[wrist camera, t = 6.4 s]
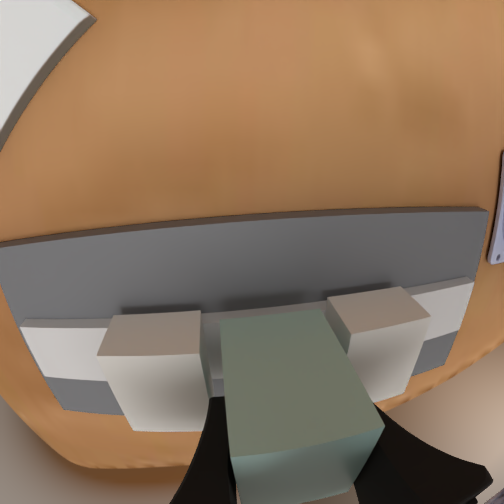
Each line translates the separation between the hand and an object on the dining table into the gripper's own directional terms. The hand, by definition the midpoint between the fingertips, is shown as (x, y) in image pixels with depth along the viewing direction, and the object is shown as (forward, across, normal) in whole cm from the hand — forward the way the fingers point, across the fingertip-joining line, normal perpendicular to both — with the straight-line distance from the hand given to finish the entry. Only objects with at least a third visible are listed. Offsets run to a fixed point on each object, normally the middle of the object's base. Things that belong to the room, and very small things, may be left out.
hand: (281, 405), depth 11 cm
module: (+2, 0, 0) cm, 2 cm away
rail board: (+5, 0, 0) cm, 5 cm away
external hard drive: (+6, +14, -18) cm, 23 cm away
